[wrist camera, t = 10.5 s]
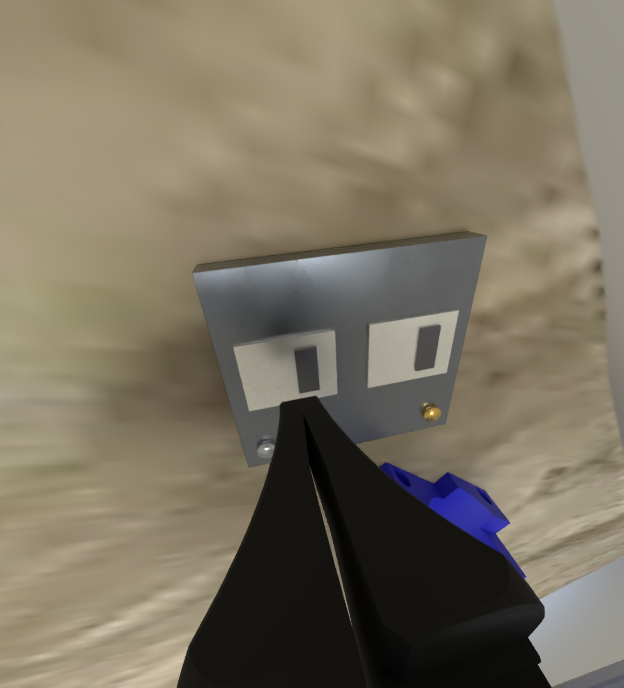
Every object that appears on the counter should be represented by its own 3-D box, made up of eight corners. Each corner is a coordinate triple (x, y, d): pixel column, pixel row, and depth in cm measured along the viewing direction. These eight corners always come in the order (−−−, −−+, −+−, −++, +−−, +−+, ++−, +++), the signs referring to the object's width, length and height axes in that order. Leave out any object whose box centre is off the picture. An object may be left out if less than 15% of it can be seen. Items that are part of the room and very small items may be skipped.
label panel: (434, 410, 19) (448, 427, 17) (248, 450, 17) (248, 473, 16) (468, 231, 13) (493, 237, 12) (196, 265, 11) (190, 276, 10)
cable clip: (483, 488, 26) (543, 565, 20) (445, 518, 27) (493, 597, 22) (399, 446, 20) (452, 536, 15) (356, 485, 21) (392, 581, 16)
